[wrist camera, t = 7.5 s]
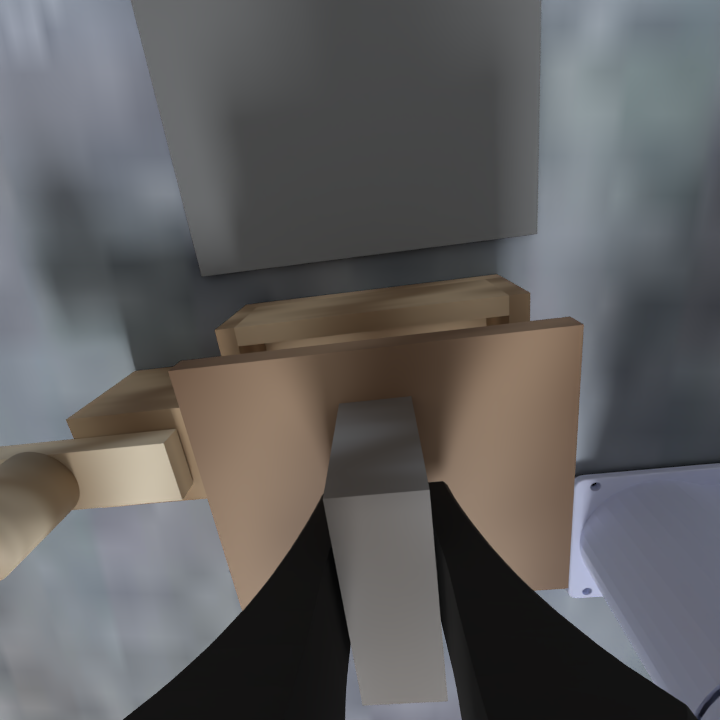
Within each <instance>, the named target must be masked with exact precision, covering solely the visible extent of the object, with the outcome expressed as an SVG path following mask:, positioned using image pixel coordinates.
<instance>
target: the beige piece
mask: <svg viewBox="0 0 720 720" xmlns="http://www.w3.org/2000/svg"><path fill="white" fill-rule="evenodd" d="M192 484H193V480H192V477H191V474H190V471H189V467H188V464H187V461H186V458H185V455H184V452H183V449H182V445H181V442H180V439H179V436H178V433H177V430H176V429H169V430H159V431H149V432H139V433H129V434H120V435H110V436H100V437H90V438H80V439H70V440H61V441H51V442H41V443H31V444H21V445H11V446H2V447H0V581H1V580H2V579H4V578H5V577H7V576H8V575H9V574H10V573H11V572H12V571H13V570H14V569H15V568H16V567H17V566H18V565H19V564H20V562H21V561H22V560H23V559H24V558H25V557H26V556H27V555H28V554H29V553H30V552H31V551H32V550H33V549H34V548H35V547H36V546H37V545H38V544H39V543H40V542H41V541H42V540H43V539H44V538H45V537H46V536H47V535H48V534H49V533H50V532H51V531H52V530H53V529H54V528H55V527H56V526H57V525H58V524H59V523H60V522H61V521H62V520H63V519H64V518H65V517H66V516H67V515H68V513H69V512H70V511H71V510H78V509H89V508H100V507H111V506H123V505H134V504H145V503H156V502H167V501H179V500H183V499H184V497H185V495H186V494H187V492H188V491H189V489H190V488H191V486H192Z"/></svg>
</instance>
